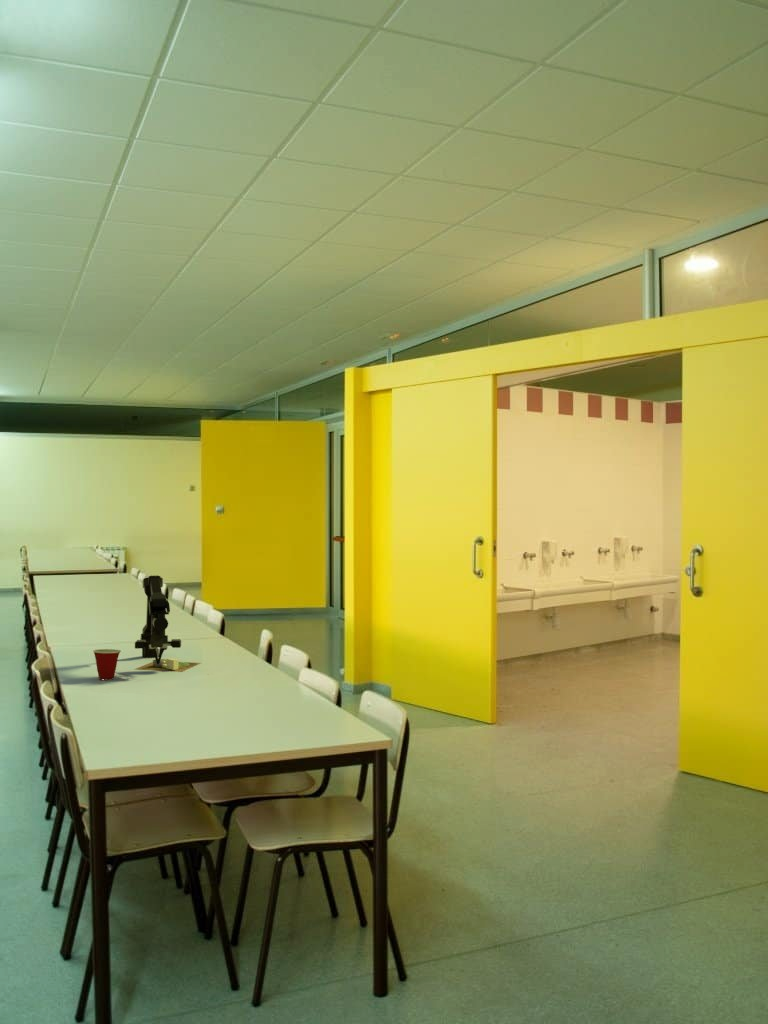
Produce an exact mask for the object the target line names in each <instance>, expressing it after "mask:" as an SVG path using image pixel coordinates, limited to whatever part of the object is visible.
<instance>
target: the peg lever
mask: <svg viewBox="0 0 768 1024" xmlns="http://www.w3.org/2000/svg"><path fill="white" fill-rule="evenodd" d="M152 662H153V667H164V668H168V669H172V670H176V669H178V662H179V659H176V658H172V657H171V658H166V659H165V658H161V660H160V663H159V664H157V662H156V659H153V660H152Z"/></svg>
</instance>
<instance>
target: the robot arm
mask: <svg viewBox="0 0 768 1024" xmlns="http://www.w3.org/2000/svg"><path fill="white" fill-rule="evenodd" d="M163 587H164V579H163V577H161V575H149V576H146V577H144V578H143V579H142V588H143V590H144V593H145V595H146V596H147V598H146V620H145V621H146V622H145V624H144V626H143V628H142V629H141V630H142V631H141V632H142V633H140V639H137V640H136V641H135V642H134V649H135V650H136V649H138V650H139V649H141V653H142V655H141V656H142V657H141V658H144V659H154V660H156V662H157V664H159V663H160V660H161V659H162V656H163V653H164V652H165V651H166V650H167V649H168V647H170V646H171V647H172V648H173V649H174V648H176V649H179V648H181V647H182V640H181V639H179V638H177V639H176V638H175V639H174V638H172V639H171V641H169V636H168V634H166V629H167V628H168V626H169V621H168V619H167V618H166V615H170V613H171V608H170V607H171V606H170V603H169V600H168V599H167V596H166V595H165V594H164V593H163V592H162V588H163Z"/></svg>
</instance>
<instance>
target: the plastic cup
mask: <svg viewBox="0 0 768 1024" xmlns="http://www.w3.org/2000/svg"><path fill="white" fill-rule="evenodd" d="M120 652H122V651H121V650H120V649H112V648H111V649H109V648H105V649H104V648H103V649H101V648H100V649H99V648H98V649H94V650H93V654H94V658H95V665H96V669H97V671H96V672H97V673H98V679H99V680H100V679H104V680H103V681H106V680H105V679H112V678H114V679H115V676H116V675H115V674H116V671H117V666H118V660H119V659H118V658H119V656H120ZM112 680H113V679H112Z"/></svg>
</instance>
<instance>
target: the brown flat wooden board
mask: <svg viewBox="0 0 768 1024" xmlns="http://www.w3.org/2000/svg"><path fill="white" fill-rule="evenodd" d="M200 664H202V662H187V661H178V669H176V670H172V669H168V668H164V667H153V661H151V662H149V663H146V664H144V665H142V666H139V667H136V668H135V670H140V671H141V670H142V671H153V672H154V671H158V672H160V671H161V672H173V673H176V672H177V673H183V672H185V671H187V670H190V669H192V668H195V667H196V666H198V665H200Z"/></svg>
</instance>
